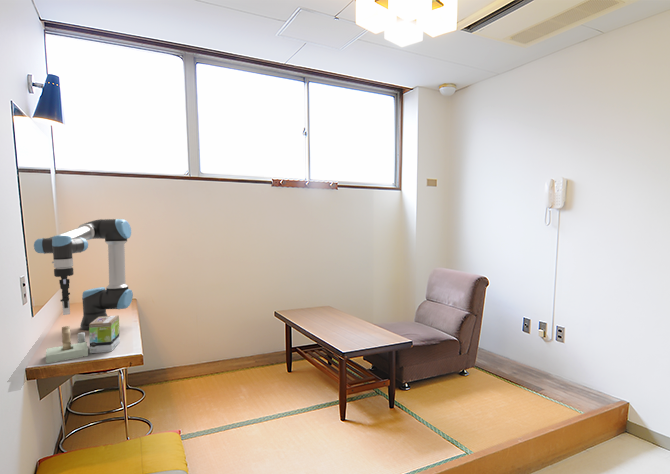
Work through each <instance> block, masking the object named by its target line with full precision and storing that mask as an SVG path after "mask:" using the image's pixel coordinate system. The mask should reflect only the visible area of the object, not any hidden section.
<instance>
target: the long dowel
mask: <svg viewBox="0 0 670 474" xmlns="http://www.w3.org/2000/svg"><path fill="white" fill-rule="evenodd" d="M61 340H62V341H61V342H62V346H63V351H64V350H70V349H71V344H72V342H71V341H72V340H71V326H70V325H65V326H63V327H61Z"/></svg>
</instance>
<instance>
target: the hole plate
mask: <svg viewBox="0 0 670 474" xmlns="http://www.w3.org/2000/svg"><path fill="white" fill-rule="evenodd" d="M83 356H84V357H88V356H89V347H88V342H87V341H85V342H83V343H78V342H77V343H71V349H70V350H64V351H63V345H61V346H60V345H59V346H54V347H50V348H49V347H48V348H46V353H45V363H46V364H51V363H57V362H63V361H66V360H72V359H79V358H83Z"/></svg>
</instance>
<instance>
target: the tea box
mask: <svg viewBox="0 0 670 474" xmlns="http://www.w3.org/2000/svg"><path fill="white" fill-rule="evenodd" d="M88 331H89V332H88V333H89V337H88V338H89V340H88V342H89V354H99V353H100V354H101V353H109V352H112V351H113V350H114V349H115V347H117V345H119V344H120V340H121V339H120V315H107V316H103V317H98V318H96V319H95V320H94V321H93V322H91V323H90V324H89V330H88Z"/></svg>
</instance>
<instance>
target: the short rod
mask: <svg viewBox="0 0 670 474" xmlns="http://www.w3.org/2000/svg"><path fill="white" fill-rule="evenodd" d="M83 342H86V332H83V331H82V332H78V333H77V343H83Z"/></svg>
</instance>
